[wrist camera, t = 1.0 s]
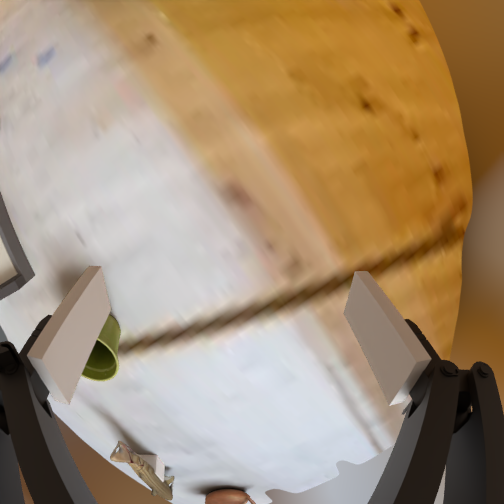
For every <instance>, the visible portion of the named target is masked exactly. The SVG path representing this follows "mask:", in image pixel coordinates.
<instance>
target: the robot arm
mask: <svg viewBox="0 0 504 504" xmlns="http://www.w3.org/2000/svg"><path fill="white" fill-rule="evenodd" d="M110 311H111V306H110V302H109V298H108V294H107V290H106V285H105V281H104V276H103V272H102V267H101V266H89V267H88V268H87V269H86V270H85V272H84V273H83V274H82V276H81V277H80V278H79V279H78V281H77V282H76V283H75V285H74V286H73V287H72V289H71V290H70V291H69V293H68V294H67V296H66V297H65V298H64V300H63V301H62V303H61V304H60V305H59V307H58V308H57V310H56V311H55V312H54V314H53V315H48V316H46V317H45V318H44V319H42V320H41V321H40V322H39V324H38V325H37V327H36V328H35V330H34V331H33V333H32V334H31V336H30V337H29V339H28V340H27V342H26V344H25V345H24V347H23V348H22V350H21V351H20V353H19V354H18V352H17V350H16V348H15V347H14V345H13V344H12V343H11V342H7V341H5V342H1V343H0V504H25V502H24V497H23V492H22V487H21V481H20V475H19V467H18V463H19V466H20V468H21V471H22V474H23V477H24V479H25V482H26V485H27V487H28V490H29V492H30V494H31V497H32V499H33V501H34V504H98V503H97V502H96V500H95V498H94V497H93V495H92V493H91V492H90V490H89V488H88V487H87V485H86V483H85V481H84V480H83V478H82V476H81V474H80V472H79V470H78V468H77V466H76V464H75V462H74V460H73V458H72V456H71V454H70V452H69V450H68V448H67V446H66V444H65V441H64V439H63V437H62V434H61V432H60V429H59V427H58V424H57V422H56V419H55V417H54V414H53V411H52V408H51V405H50V403H49V401H48V400H47V397H48V395H49V392H50V394H51V395H52V397H53V398H54V400H55V401H58V402H61V403H65V404H70V402H71V399H72V396H73V394H74V391H75V389H76V386H77V384H78V381H79V379H80V377H81V374H82V372H83V369H84V367H85V365H86V363H87V360H88V358H89V356H90V353H91V351H92V349H93V347H94V345H95V342H96V340H97V338H98V336H99V334H100V332H101V330H102V328H103V326H104V324H105V322H106V319H107V317H108V315H109V313H110ZM344 315H345V317H346V318H347V320H348V322H349V324H350V326H351V328H352V330H353V332H354V334H355V336H356V338H357V340H358V342H359V344H360V346H361V348H362V350H363V352H364V354H365V356H366V358H367V360H368V362H369V364H370V366H371V368H372V370H373V372H374V374H375V377H376V379H377V381H378V383H379V385H380V387H381V389H382V391H383V394H384V396H385V398H386V400H387V402H388V404H389V406H390V405H394V404H397V403H401V402H404V400H405V399H406V397H407V396H408V394H410V396H411V398H412V400H411V402H410V403H409V404H408V406H407V407H406V408H405V410H404V411H403V413H402V414H403V415H404V414H405V412H406V411H407V412H406V415H405V418H404V421H403V424H402V427H401V430H400V433H399V435H398V438H397V441H396V443H395V446H394V448H393V451H392V453H391V456H390V458H389V461H388V463H387V465H386V468H385V470H384V472H383V474H382V476H381V478H380V481H379V483H378V485H377V487H376V489H375V491H374V493H373V495H372V496H371V499H370V500H369V502H368V504H434V501H435V498H436V495H437V492H438V489H439V486H440V483H441V479H442V476H443V472H444V469H445V465H446V476H445V491H444V501H443V504H504V415H503V410H502V405H501V401H500V396H499V392H498V388H497V384H496V380H495V377H494V373H493V371H492V369H491V368H490V367H489V366H488V365H487V364H485V363H483V362H476V363H474V364H473V366H472V367H471V369H470V370H459V369H458V367H457V366H456V365H455V364H454V363H452V362H450V361H448V360H441V359H440V357H439V356H438V354H437V353H436V351H435V350H434V349H433V347H432V346H431V344H430V343H429V342H428V340H426V337H425V336H424V335H423V334H422V332H421V330H420V329H419V328H418V326H417V325H416V324H414V323H413V322H412V321H411V320H409V319H403V317H402V316H401V314H400V313H399V312H398V310H397V309H396V308H395V306H394V305H393V304H392V302H391V301H390V300H389V298H388V297H387V296H386V294H385V293H384V292H383V290H382V289H381V288H380V287H379V285H378V284H377V283H376V281H375V280H374V279H373V278H372V276H371V275H370V274H369V273H368V271H355V274H354V277H353V281H352V285H351V289H350V292H349V296H348V300H347V303H346V307H345V310H344ZM471 406H472V408H473V409H472V412H471Z"/></svg>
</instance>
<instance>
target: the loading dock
mask: <svg viewBox="0 0 504 504" xmlns="http://www.w3.org/2000/svg"><path fill="white" fill-rule="evenodd" d="M34 276H35V274H34V272H33V270H32V268H31V266H30V264H29V262H28V260H27V258H26V256H25V253H24V251H23V249H22V247H21V245H20V242H19V240H18V238H17V236H16V233H15V231H14V228H13V226H12V223H11V221H10V218H9V216H8V213H7V210H6V207H5V205H4V202H3V199H2V196H1V193H0V300H2V299H3V298H5V297H7V296H9V295H10V294H12V293H14V292H16V291H17V290H19V289H20V288H21V287H23V286H24V285H25V284H26V283H27V282H28V281H29V280H30V279H32V278H33V277H34Z"/></svg>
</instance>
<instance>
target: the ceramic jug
mask: <svg viewBox="0 0 504 504" xmlns="http://www.w3.org/2000/svg"><path fill="white" fill-rule="evenodd" d="M248 500H249V501H250V502H251V504H256V503H255V502H254V501H253V500H252V499H251V498H250V496H249V495H248V494H247V493H245V492H243V491H240V490H235V489H221V490H216V491H213V492H211V493H209V494H208V495H207V496H206V499H205V501H206V502H205V504H246V503H247V502H248Z"/></svg>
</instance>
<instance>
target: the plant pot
mask: <svg viewBox="0 0 504 504" xmlns="http://www.w3.org/2000/svg"><path fill="white" fill-rule="evenodd" d="M120 333H121V330H120V328H119V325H118V322H117V321H116V320H115V319H114V318H113V317H112V316H110V315H108V317H107V319H106V322H105V324H104V326H103V328H102V330H101V332H100V334H99V336H98V338H97V340H96V342H95V345H94V347H93V349H92V351H91V353H90V356H89V358H88V360H87V363H86V365H85V367H84V369H83V372H82V374H81V376H83V377H85V378H87V379H90V380H94V381H107V380H110V379H112V378H114V377H115V376H116V374H117V372H118V369H119V362H118V357H117V351H118V345H119V339H120Z"/></svg>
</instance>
